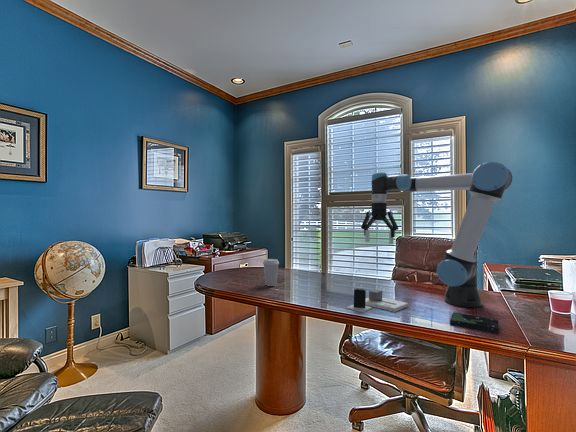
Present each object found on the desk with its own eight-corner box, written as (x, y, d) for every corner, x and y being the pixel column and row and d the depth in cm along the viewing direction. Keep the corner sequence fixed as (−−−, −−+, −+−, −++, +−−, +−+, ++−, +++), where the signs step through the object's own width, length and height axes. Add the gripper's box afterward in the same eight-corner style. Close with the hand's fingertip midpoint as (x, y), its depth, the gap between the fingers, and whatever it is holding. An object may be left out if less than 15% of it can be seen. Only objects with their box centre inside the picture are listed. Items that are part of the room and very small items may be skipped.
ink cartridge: (365, 306, 129) (365, 288, 129) (365, 308, 127) (365, 290, 127) (353, 305, 130) (354, 287, 130) (353, 307, 128) (354, 289, 128)
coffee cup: (264, 283, 176) (264, 258, 176) (280, 284, 175) (280, 258, 175) (261, 287, 167) (261, 260, 167) (277, 287, 165) (277, 261, 166)
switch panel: (407, 306, 132) (407, 302, 132) (395, 312, 124) (395, 308, 124) (373, 298, 145) (373, 295, 145) (360, 303, 136) (360, 300, 136)
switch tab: (382, 299, 137) (382, 290, 138) (376, 301, 134) (376, 292, 134) (374, 297, 140) (374, 289, 140) (368, 299, 137) (369, 291, 137)
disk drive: (498, 327, 109) (452, 318, 118) (498, 319, 109) (452, 311, 118) (498, 336, 101) (449, 326, 109) (498, 328, 101) (449, 318, 109)
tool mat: (372, 308, 128) (372, 307, 128) (362, 312, 123) (362, 311, 123) (356, 304, 134) (356, 303, 134) (346, 308, 129) (346, 306, 129)
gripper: (354, 203, 160) (354, 241, 160) (398, 201, 142) (398, 245, 142) (362, 203, 165) (362, 241, 165) (405, 201, 147) (405, 244, 147)
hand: (378, 243), depth 154 cm, fingers open, 13 cm apart
